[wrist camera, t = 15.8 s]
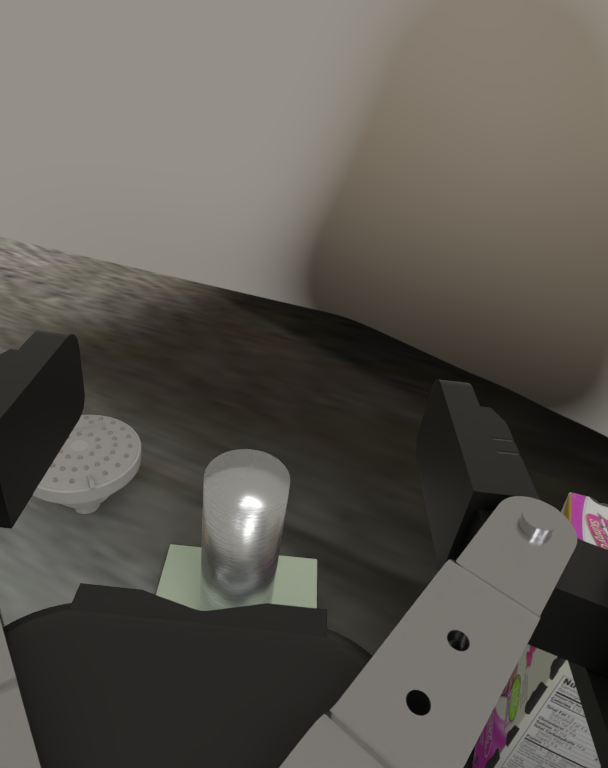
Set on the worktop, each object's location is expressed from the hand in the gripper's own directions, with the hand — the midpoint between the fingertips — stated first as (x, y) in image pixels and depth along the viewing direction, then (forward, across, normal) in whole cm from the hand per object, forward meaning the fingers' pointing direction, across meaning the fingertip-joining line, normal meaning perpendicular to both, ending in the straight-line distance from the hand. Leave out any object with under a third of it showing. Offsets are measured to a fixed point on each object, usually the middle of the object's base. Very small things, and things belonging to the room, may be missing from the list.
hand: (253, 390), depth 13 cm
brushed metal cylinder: (+13, +1, +30) cm, 32 cm away
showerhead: (+23, +15, +30) cm, 41 cm away
